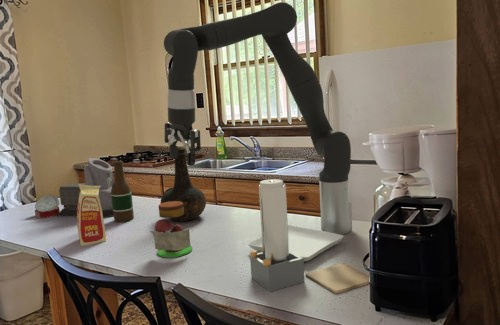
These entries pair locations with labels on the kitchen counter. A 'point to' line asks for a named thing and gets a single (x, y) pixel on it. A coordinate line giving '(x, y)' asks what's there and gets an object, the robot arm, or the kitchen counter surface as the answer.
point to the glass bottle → (185, 191)
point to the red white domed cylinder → (47, 207)
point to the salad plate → (305, 241)
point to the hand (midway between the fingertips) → (182, 161)
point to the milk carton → (90, 216)
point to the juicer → (94, 176)
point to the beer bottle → (121, 196)
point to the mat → (339, 278)
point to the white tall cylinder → (274, 220)
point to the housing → (276, 271)
